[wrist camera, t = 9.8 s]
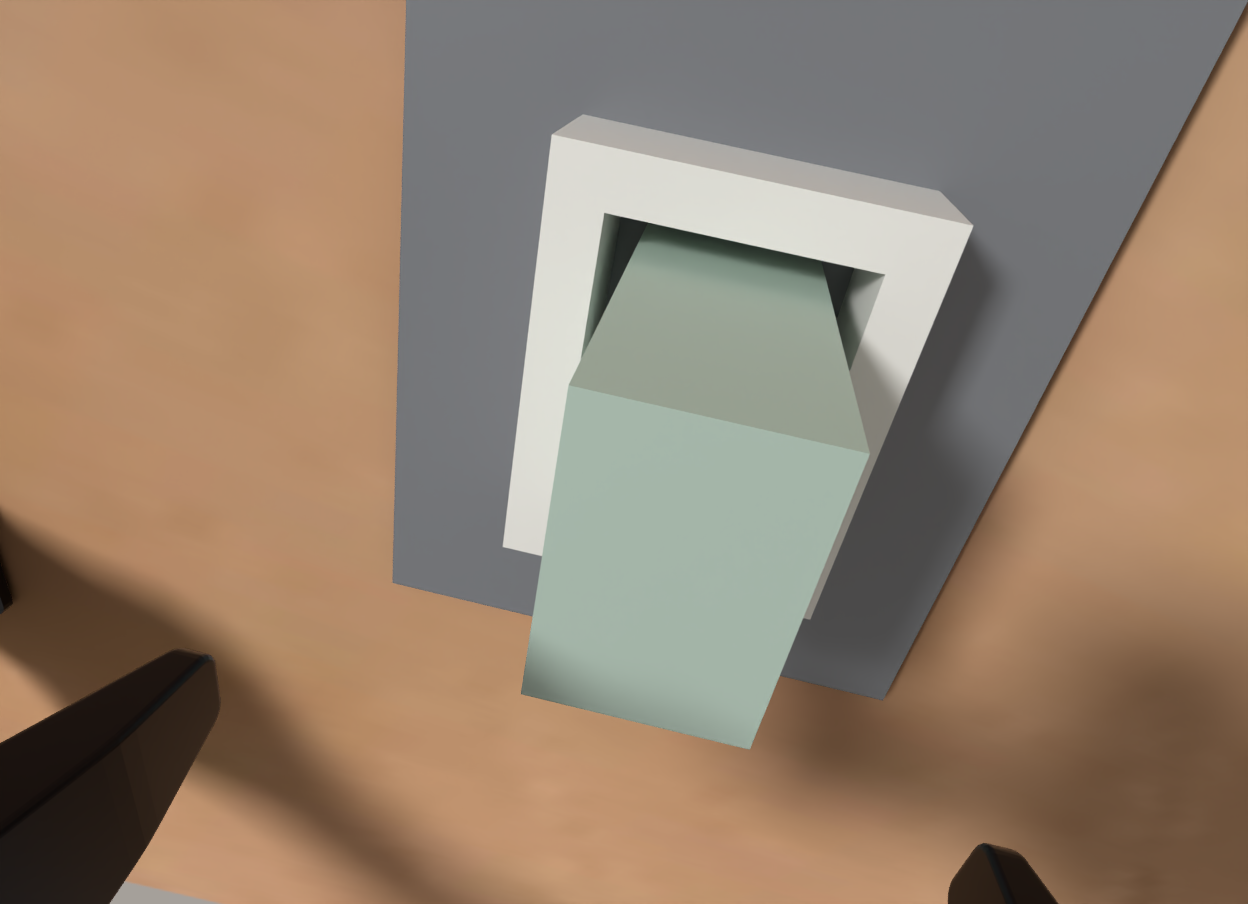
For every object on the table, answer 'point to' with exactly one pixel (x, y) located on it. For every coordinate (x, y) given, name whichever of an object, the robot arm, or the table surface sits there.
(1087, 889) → the table surface
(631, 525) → the key block
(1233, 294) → the table surface
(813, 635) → the socket tray
